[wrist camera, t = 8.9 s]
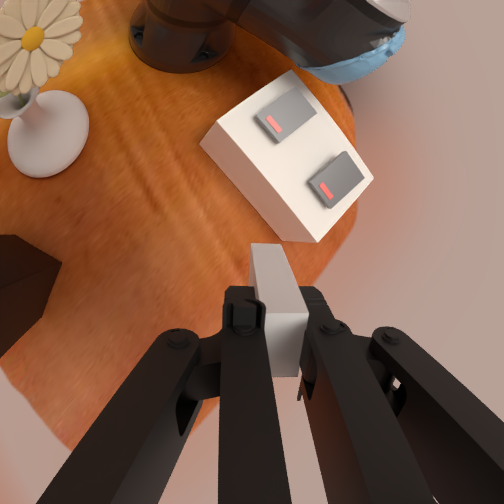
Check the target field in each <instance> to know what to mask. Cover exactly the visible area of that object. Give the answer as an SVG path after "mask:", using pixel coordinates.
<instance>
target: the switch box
mask: <svg viewBox="0 0 504 504" xmlns="http://www.w3.org/2000/svg"><path fill="white" fill-rule="evenodd" d="M294 86H296V87H297V89H298V90H299V91H300V92H301V93H302V95H303V96H304V97H305V98H306V99H307V101H308V102H309V103H310V104H311V106H312V107H313V108H314V109H315V111H316V112H317V114H316V115H314V116H313V117H312V118H311V119H309V120H308V121H307V122H305V123H304V124H303V125H302V126H300V127H299V128H298V129H297V130H295V131H294V132H293V133H292V134H290V135H289V136H288V137H287V138H285V139H284V140H283V141H282V142H280V143H279V144H277V143H276V142H275V141H274V140H273V139H272V137H271V136H270V135H269V134H268V133H267V131H266V130H265V129H264V128H263V127H262V126H261V124H260V123H259V122H258V121H257V120H256V119H255V117H254V116H255V115H256V114H258V113H259V112H260V111H262V110H263V109H264V108H266V107H267V106H268V105H270V104H271V103H272V102H274V101H275V100H276V99H278V98H279V97H281V96H282V95H283V94H285V93H286V92H287V91H289V90H290V89H292V88H293V87H294ZM199 145H200V146H201V147H202V148H203V150H204V151H205V152H206V153H207V154H208V155H209V156H210V157H211V159H212V160H213V161H214V162H215V163H216V164H217V165H218V167H219V168H220V169H221V170H222V171H223V172H224V173H225V175H226V176H227V177H228V178H229V179H230V180H231V182H232V183H233V184H234V185H235V186H236V187H237V188H238V190H239V191H240V192H241V193H242V194H243V195H244V197H245V198H246V199H247V200H248V201H249V202H250V204H251V205H252V206H253V207H254V208H255V209H256V211H257V212H258V213H259V214H260V215H261V217H262V218H263V219H264V220H265V221H266V222H267V224H268V225H269V226H270V227H271V228H272V230H273V231H274V232H275V233H276V234H277V235H278V237H279V238H280V239H281V240H282V241H294V242H312V243H318V242H319V241H320V240H321V238H322V237H323V236H324V235H325V234H326V233H327V232H328V231H329V230H330V228H331V227H332V226H333V225H334V224H335V223H336V222H337V220H338V219H339V218H340V217H341V216H342V215H343V214H344V212H345V211H346V210H347V209H348V208H349V207H350V206H351V204H352V203H353V202H354V201H355V200H356V199H357V198H358V196H359V195H360V194H361V193H362V192H363V191H364V189H365V188H366V187H367V186H368V185H369V183H370V182H371V181H372V180H373V178H374V177H373V176H372V174H371V173H370V171H369V170H368V168H367V167H366V165H365V164H364V162H363V161H362V160H361V158H360V157H359V155H358V154H357V152H356V151H355V149H354V148H353V146H352V145H351V144H350V142H349V141H348V139H347V138H346V137H345V135H344V134H343V133H342V131H341V130H340V129H339V127H338V126H337V125H336V123H335V122H334V121H333V119H332V118H331V117H330V115H329V114H328V113H327V111H326V110H325V109H324V108H323V106H322V105H321V104H320V103H319V101H318V100H317V99H316V98H315V96H314V95H313V94H312V93H311V92H310V90H309V89H308V88H307V87H306V85H305V84H304V83H303V82H302V81H301V80H300V78H299V77H298V76H297V75H296V74H295V73H294V71H293V70H292V69H291V70H289V71H287V72H286V73H284V74H283V75H281V76H280V77H278V78H277V79H275V80H273V81H272V82H270V83H269V84H267V85H266V86H264V87H263V88H261V89H260V90H259V91H257V92H256V93H254V94H253V95H251V96H250V97H248V98H247V99H246V100H244V101H243V102H241V103H240V104H238V105H237V106H236V107H234V108H233V109H232V110H230V111H229V112H227V113H226V114H225V115H223V116H222V117H221V118H219V119H218V120H217V121H216V122H215V123H214V125H213V126H212V127H211V128H210V130H209V131H208V132H207V134H206V135H205V136H204V138H203V139H202V140H201V142H200V143H199ZM342 151H347V153H348V154H349V155H350V157H351V158H352V160H353V161H354V163H355V164H356V165H357V167H358V168H359V170H360V171H361V173H362V174H363V176H364V177H365V178H364V179H363V180H362V181H361V182H360V183H359V184H358V185H357V186H356V187H355V188H353V189H352V190H351V191H350V192H349V193H348V194H347V195H346V196H345V197H344V198H343V199H342V200H340V201H339V202H338V203H337V204H336V205H335V206H334V207H333V208H332V209H328V208H327V207H326V206H325V205H324V203H323V202H322V201H321V199H320V198H319V197H318V195H317V194H316V193H315V191H314V190H313V189H312V188H311V186H310V185H309V184H308V182H307V181H309V180H310V179H311V178H312V177H313V176H314V175H315V174H317V173H318V172H319V171H320V170H321V169H322V168H324V167H325V166H326V165H327V164H328V163H329V162H331V161H332V160H333V159H334V158H335V157H336V156H338V155H339V154H340V153H341V152H342Z"/></svg>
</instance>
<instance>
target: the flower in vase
mask: <svg viewBox="0 0 504 504" xmlns="http://www.w3.org/2000/svg"><path fill="white" fill-rule="evenodd" d="M80 7H81V5H80V3H79V2H77V0H6V2H5V4H4V7H2V8H1V9H0V118H3V119H11V118H13V120H12V122H11V125H10V128H9V132H8V138H7V145H8V152H9V156H10V159H11V161H12V163H13V164H14V166H15V167H16V168H17V169H18V170H19V171H20V172H21V173H23V174H25V175H27V176H30V177H35V178H43V177H49V176H52V175H55V174H57V173H59V172H61V171H63V170H64V169H65V168H67V167H68V166H69V165H70V164H72V162H73V161H74V160H75V159H76V158H77V157H78V155H79V154H80V152H81V151H82V149H83V147H84V145H85V143H86V140H87V137H88V133H89V116H88V112H87V109H86V107H85V105H84V104H83V103H82V101H81V100H80V99H79V98H78V97H76V96H75V95H73V94H71V93H69V92H65V91H60V90H51V91H46V92H43V93H40V94H38V93H39V89H40V87H41V86H43V85H44V84H45V83H46V81H47V80H48V79H49V78H50V77H56V76H57V75H58V74H59V71H60V66H61V65H62V64H63V60H68V59H70V58H71V57H72V55H73V50H72V48H73V46H74V43H76V42H78V41H79V40H80V38H81V33H80V32H79V27H80V26H81V25H82V23H83V18H82V17H81V16H79V15H80V14H79V12H78V11H79V9H80Z"/></svg>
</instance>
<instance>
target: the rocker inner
mask: <svg viewBox="0 0 504 504" xmlns="http://www.w3.org/2000/svg"><path fill="white" fill-rule="evenodd" d="M316 114H317V112H316V111H315V109H314V108H313V107H312V106H311V104H310V103H309V102H308V101H307V99H306V98H305V97H304V96H303V95H302V93H301V92H300V91H299V90H298V89H297V87H296V86H294V87H293V88H292V89H290V90H289V91H287V92H286V93H285V94H283V95H282V96H281V97H279V98H278V99H276V100H275V101H274V102H272V103H271V104H270V105H268V106H267V107H266V108H264V109H263V110H262V111H260V112H259V113H258V114H256V115H255V116H254V117H255V119H256V120H257V121H258V122H259V123H260V124H261V126H262V127H263V128H264V129H265V130H266V131H267V133H268V134H269V135H270V136H271V137H272V139H273V140H274V141H275V142H276V143H277V144H279V143H280V142H282V141H283V140H284V139H285V138H287V137H288V136H289V135H290V134H292V133H293V132H294V131H295V130H297V129H298V128H299V127H300V126H302V125H303V124H304V123H305V122H307V121H308V120H309V119H311V118H312V117H313V116H314V115H316Z"/></svg>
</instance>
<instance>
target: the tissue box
mask: <svg viewBox="0 0 504 504" xmlns="http://www.w3.org/2000/svg"><path fill="white" fill-rule="evenodd" d="M61 265H62V262H60V261H58V260H57V259H55V258H53V257H51V256H50V255H48V254H46V253H45V252H43V251H41V250H39V249H38V248H36V247H34V246H33V245H31V244H29V243H28V242H26V241H24V240H23V239H21V238H19V237H18V236H16V235H0V358H1V357H2V356H3V355H4V354H5V353H6V352H7V351H8V350H9V349H10V348H11V347H12V346H13V345H14V344H15V343H16V342H17V341H18V340H19V339H20V338H21V337H22V336H23V335H24V334H25V333H26V332H27V331H28V330H29V329H30V328H31V327H32V326H33V325H34V324H35V323H36V322H37V321H38V320H39V319H40V318H41V317H42V315H43V312H44V309H45V306H46V304H47V301H48V298H49V295H50V293H51V290H52V287H53V285H54V282H55V279H56V277H57V274H58V272H59V269H60V267H61Z"/></svg>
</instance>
